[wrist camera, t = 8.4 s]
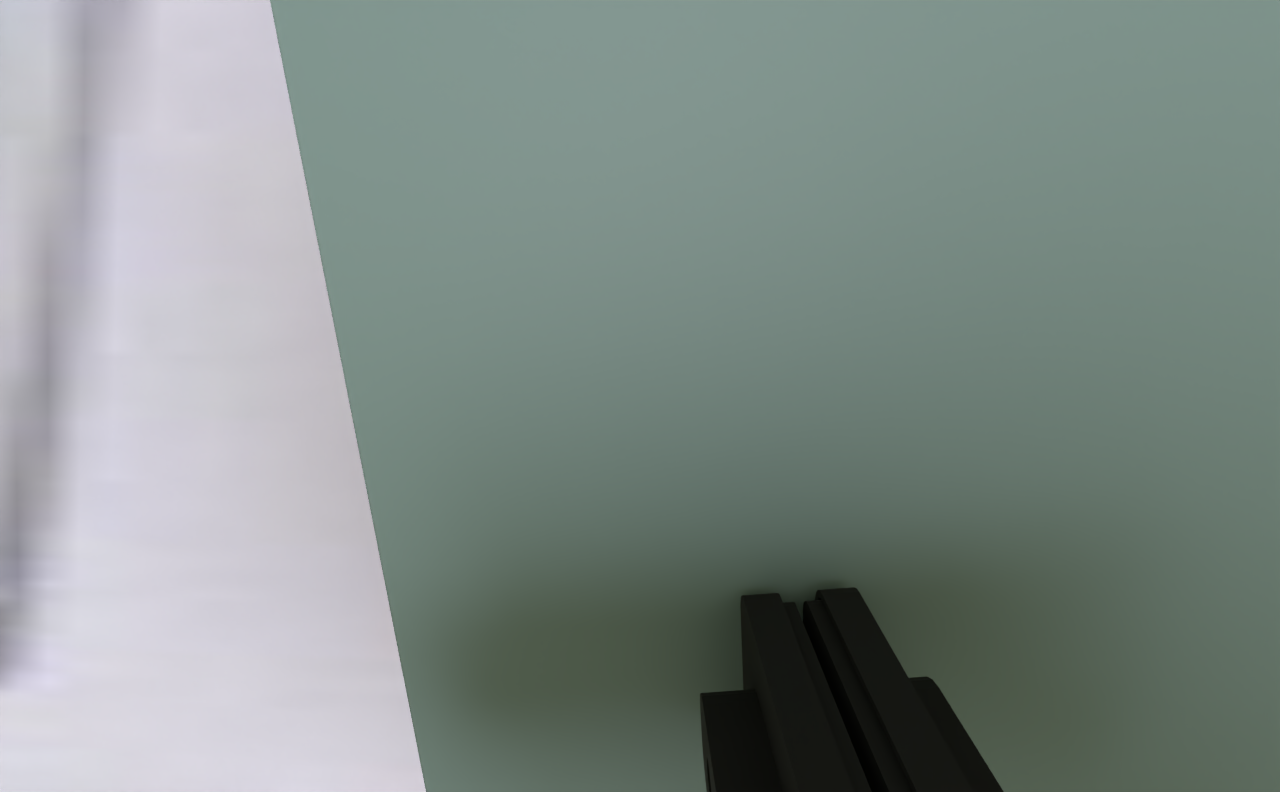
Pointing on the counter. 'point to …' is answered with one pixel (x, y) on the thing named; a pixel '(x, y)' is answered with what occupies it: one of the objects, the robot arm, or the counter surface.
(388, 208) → the box lid
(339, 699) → the counter surface
